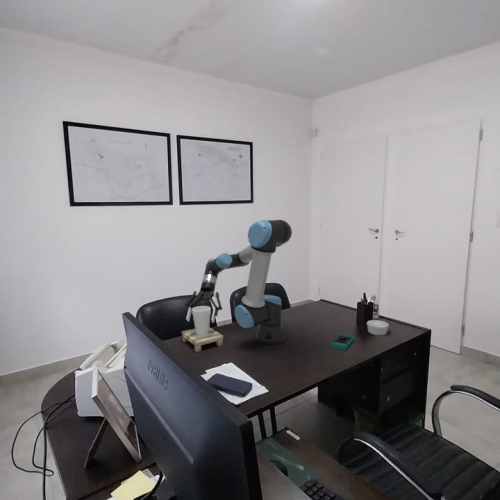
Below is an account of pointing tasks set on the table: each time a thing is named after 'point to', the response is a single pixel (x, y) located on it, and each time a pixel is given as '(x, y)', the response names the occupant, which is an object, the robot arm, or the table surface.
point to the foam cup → (201, 319)
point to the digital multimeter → (342, 342)
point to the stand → (202, 338)
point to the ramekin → (377, 327)
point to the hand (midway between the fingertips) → (199, 320)
